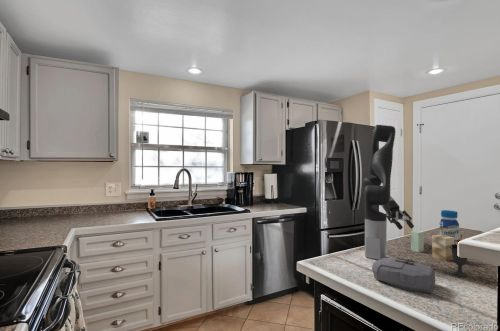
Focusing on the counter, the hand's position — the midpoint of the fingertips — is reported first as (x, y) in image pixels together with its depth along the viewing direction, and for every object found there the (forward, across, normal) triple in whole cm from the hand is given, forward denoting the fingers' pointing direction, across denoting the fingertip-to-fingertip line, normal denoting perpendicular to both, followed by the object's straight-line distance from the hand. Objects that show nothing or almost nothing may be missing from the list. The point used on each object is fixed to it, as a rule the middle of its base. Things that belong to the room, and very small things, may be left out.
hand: (407, 228), depth 140 cm
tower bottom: (+20, 0, -6) cm, 21 cm away
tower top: (+16, 0, -9) cm, 19 cm away
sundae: (+31, -15, -16) cm, 38 cm away
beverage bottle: (+15, +16, 0) cm, 22 cm away
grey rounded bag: (+29, -43, -14) cm, 53 cm away
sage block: (+11, 0, +3) cm, 12 cm away
